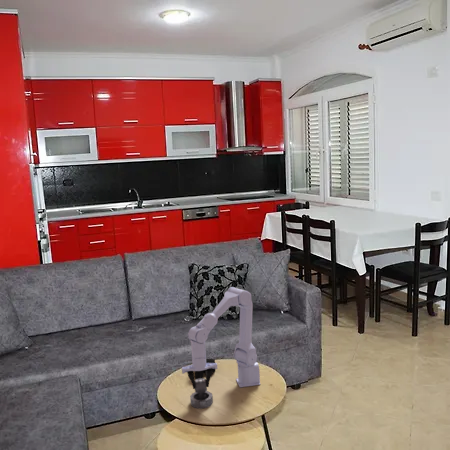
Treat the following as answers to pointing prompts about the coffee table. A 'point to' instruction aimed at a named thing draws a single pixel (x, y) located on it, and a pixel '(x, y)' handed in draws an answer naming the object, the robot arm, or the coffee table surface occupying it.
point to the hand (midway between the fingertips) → (200, 386)
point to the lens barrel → (201, 400)
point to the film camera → (201, 373)
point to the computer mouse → (200, 385)
